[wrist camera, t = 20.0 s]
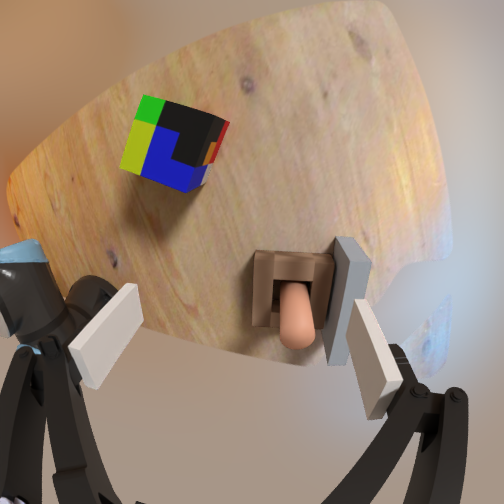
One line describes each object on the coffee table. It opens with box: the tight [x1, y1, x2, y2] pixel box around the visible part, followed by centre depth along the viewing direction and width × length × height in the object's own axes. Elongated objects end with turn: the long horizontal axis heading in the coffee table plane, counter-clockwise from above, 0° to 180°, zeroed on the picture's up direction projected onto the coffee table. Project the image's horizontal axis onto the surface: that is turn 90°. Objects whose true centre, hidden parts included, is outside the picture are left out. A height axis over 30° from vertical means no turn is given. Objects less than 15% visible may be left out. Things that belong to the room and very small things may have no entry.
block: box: [252, 250, 335, 329], centre depth 45 cm, size 12×12×4 cm
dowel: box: [280, 280, 315, 350], centre depth 41 cm, size 4×4×14 cm
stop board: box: [321, 236, 372, 366], centre depth 42 cm, size 3×18×10 cm, turn 178°
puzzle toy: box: [119, 95, 230, 193], centre depth 35 cm, size 10×10×10 cm
